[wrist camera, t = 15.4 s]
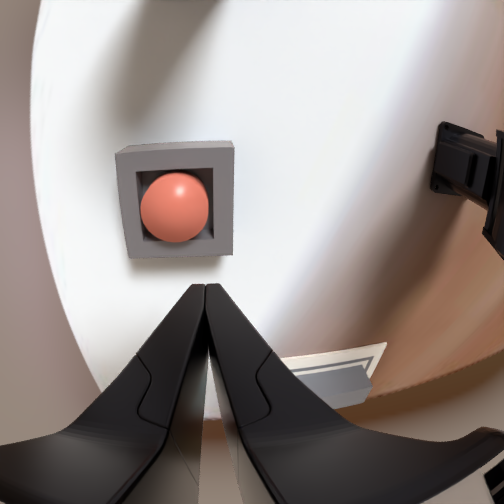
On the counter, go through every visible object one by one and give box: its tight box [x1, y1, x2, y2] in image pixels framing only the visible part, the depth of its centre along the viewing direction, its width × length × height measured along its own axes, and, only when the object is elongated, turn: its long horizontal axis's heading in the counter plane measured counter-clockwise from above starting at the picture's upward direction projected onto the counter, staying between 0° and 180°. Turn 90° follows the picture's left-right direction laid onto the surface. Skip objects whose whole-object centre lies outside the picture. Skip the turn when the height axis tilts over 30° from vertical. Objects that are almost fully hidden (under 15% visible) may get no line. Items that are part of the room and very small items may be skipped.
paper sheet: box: [280, 342, 387, 379], centre depth 33 cm, size 16×10×1 cm, turn 88°
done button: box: [141, 170, 209, 242], centre depth 17 cm, size 4×4×2 cm
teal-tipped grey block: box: [296, 365, 373, 409], centre depth 31 cm, size 11×4×4 cm, turn 88°
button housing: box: [115, 141, 234, 258], centre depth 18 cm, size 7×7×3 cm
